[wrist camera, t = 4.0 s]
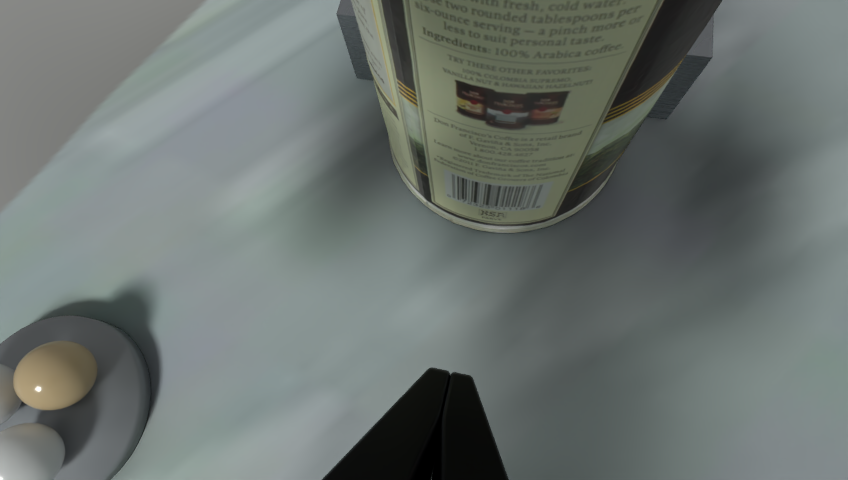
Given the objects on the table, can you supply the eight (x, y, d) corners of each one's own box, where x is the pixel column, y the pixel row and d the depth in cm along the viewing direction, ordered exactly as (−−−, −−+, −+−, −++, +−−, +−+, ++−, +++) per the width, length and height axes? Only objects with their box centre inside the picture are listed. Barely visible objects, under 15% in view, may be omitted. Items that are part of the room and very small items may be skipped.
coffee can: (567, 6, 23) (712, -521, 10) (661, 193, 20) (1064, -218, 7) (361, 65, 23) (227, -393, 10) (422, 265, 20) (346, -13, 6)
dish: (187, 388, 19) (135, 386, 16) (50, 553, 17) (-36, 585, 14) (73, 285, 21) (7, 266, 17) (-60, 427, 19) (-159, 433, 16)
